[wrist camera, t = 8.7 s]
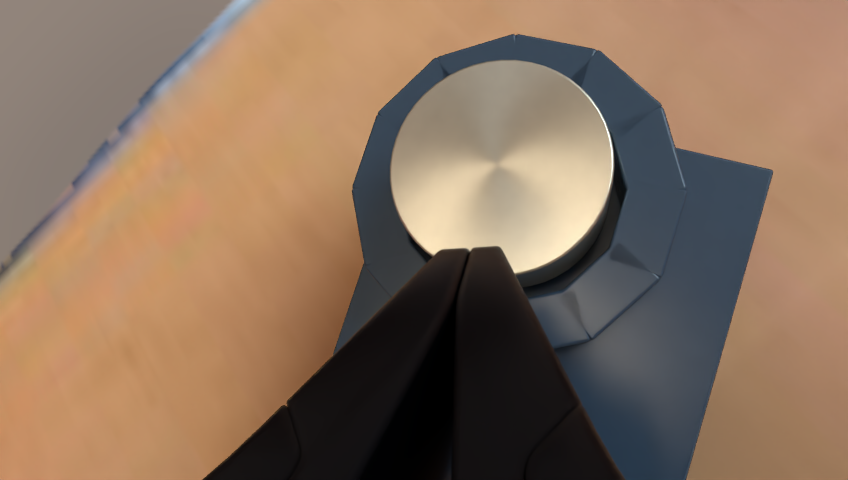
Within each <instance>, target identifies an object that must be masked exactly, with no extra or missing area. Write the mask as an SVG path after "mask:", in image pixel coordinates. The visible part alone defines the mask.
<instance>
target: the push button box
mask: <svg viewBox="0 0 848 480" xmlns="http://www.w3.org/2000/svg"><path fill="white" fill-rule="evenodd" d="M496 60H519V61H527V62H532V63H536V64H539V65H543V66H546V67H548V68H551V69H553V70H555V71H558V72H559V73H561V74H563V75H565V76H566V77H568V78H570V79H571V80H572V81H574V82H575V83H576V84H577V85H579V86H580V87H581V88H582V89H583V90H584V91H585V92H586V93H587V94H588V95H589V96H590V97H591V99H592V100H593V101H594V103H595V104H596V105H597V107H598V108H599V110H600V112H601V114H602V115H603V117H604V119H605V121H606V124H607V126H608V129H609V132H610V135H611V139H612V144H613V149H614V176H613V183H612V189H611V194H610V200H609V205H608V209H607V214H606V218H605V221H604V223H603V226H602V229H601V231H600V233H599V235H598V237H597V238H596V240H595V242H594V243H593V245H592V246H591V247H590V249H589V250H588V252H587V253H586V254H585V255H584V256H583V257H582V258H581V259H580V260H579V261H578V262H577V263H576V264H574V265H573V266H572V267H571V268H569V269H568V270H567V271H565V272H563V273H562V274H560V275H558V276H557V277H555V278H553V279H550V280H548V281H546V282H543V283H540V284H536V285H533V286H527V287H522V288H523V290H524V292H525V294H526V296H527V298H528V300H529V302H530V304H531V306H532V308H533V310H534V312H535V314H536V316H537V317H538V319H539V321H540V323H541V325H542V327H543V329H544V331H545V333H546V335H547V337H548V339H549V341H550V343H551V345H552V346H553V348H554V350H555V352H556V354H557V356H558V358H559V360H560V362H561V364H562V366H563V368H564V370H565V372H566V374H567V375H568V377H569V379H570V381H571V383H572V385H573V387H574V389H575V391H576V393H577V395H578V397H579V399H580V401H581V403H582V406H583V407H584V408H585V409H586V411H587V413H588V415H589V417H590V419H591V421H592V423H593V425H594V427H595V429H596V431H597V432H598V434H599V436H600V438H601V439H602V441H603V443H604V445H605V446H606V448H607V450H608V452H609V453H610V455H611V457H612V459H613V460H614V462H615V464H616V466H617V467H618V469H619V470H620V472H621V473H622V475H623V476H624V478H625V479H626V480H686V478H687V474H688V471H689V467H690V464H691V460H692V457H693V453H694V450H695V446H696V443H697V439H698V436H699V432H700V429H701V425H702V422H703V418H704V415H705V411H706V407H707V404H708V400H709V397H710V393H711V390H712V386H713V383H714V379H715V376H716V372H717V369H718V365H719V362H720V358H721V355H722V351H723V348H724V344H725V340H726V337H727V333H728V330H729V326H730V323H731V319H732V316H733V312H734V309H735V305H736V302H737V298H738V295H739V291H740V288H741V284H742V281H743V277H744V274H745V270H746V266H747V263H748V259H749V256H750V252H751V249H752V245H753V242H754V238H755V235H756V231H757V228H758V224H759V221H760V217H761V214H762V210H763V207H764V203H765V200H766V196H767V192H768V189H769V185H770V182H771V178H772V175H773V171H772V170H770V169H766V168H761V167H757V166H753V165H748V164H744V163H740V162H735V161H731V160H727V159H722V158H718V157H714V156H709V155H705V154H701V153H696V152H692V151H688V150H683V149H679V148H675V145H674V142H673V138H672V135H671V132H670V128H669V125H668V121H667V118H666V115H665V111H664V109H663V108H662V107H661V106H662V105H661V104H660V103H659V102H658V101H657V100H656V99H655V98H654V97H652V96H651V95H650V94H649V93H648V92H647V91H645V90H644V89H643V88H642V87H641V86H640V85H639V84H637V83H636V82H635V81H634V80H633V79H632V78H631V77H629V76H628V75H627V74H626V73H625V72H624V71H623V70H621V69H620V68H619V67H618V66H617V65H616V64H615V63H613V62H612V61H611V60H610V59H609V58H608V57H607V56H605V55H604V54H603V53H602V52H601V51H599V50H598V51H596V50H595V49H592V48H587V47H581V46H576V45H571V44H566V43H561V42H556V41H551V40H545V39H540V38H535V37H530V36H525V35H520V34H518V35H516V36H515V35H514V34H512V35H508V36H505V37H502V38H498V39H495V40H492V41H489V42H485V43H482V44H479V45H475V46H472V47H469V48H466V49H462V50H459V51H456V52H452V53H449V54H446V55H443V56H439V57H438V58H434V59H433V60H432V61H431V62H430V63H429V64H428V65H427V66H426V67H425V68H424V69H423V70H422V71H421V72H420V73H419V74H417V75H416V76H415V77H414V78H413V79H412V80H411V81H410V82H409V83H408V84H407V85H406V86H405V87H404V88H403V89H402V90H401V91H400V92H399V93H398V94H397V95H396V96H395V97H393V98H392V99H391V100H390V101H389V102H388V103H387V104H386V105H385V106H384V107H383V108H382V109H381V110H380V111H379V112H378V115H377V116H376V119H375V122H374V125H373V128H372V131H371V134H370V137H369V140H368V143H367V145H366V148H365V151H364V154H363V157H362V160H361V163H360V166H359V169H358V172H357V175H356V177H355V180H354V183H353V190H352V195H353V201H354V206H355V212H356V218H357V224H358V229H359V235H360V241H361V247H362V252H363V258H364V264H363V267H362V270H361V273H360V276H359V279H358V282H357V285H356V288H355V291H354V294H353V297H352V300H351V303H350V305H349V308H348V311H347V314H346V317H345V320H344V323H343V326H342V329H341V332H340V335H339V338H338V341H337V344H336V347H335V350H334V353H333V355H334V354H335V353H336V352H337V351H338V350H339V349H340V348H341V347H342V346H343V345H344V344H345V343H346V342H347V341H348V340H349V339H350V338H351V337H352V336H353V335H354V334H355V333H356V332H357V331H358V330H359V329H360V328H361V327H362V326H363V325H364V324H365V323H366V322H367V321H368V320H369V319H370V318H371V317H372V316H373V315H374V314H375V313H376V312H377V311H378V310H379V309H380V308H381V307H382V306H383V305H384V304H385V303H386V302H387V301H388V300H389V299H390V298H391V297H392V296H393V295H394V294H396V293H397V292H398V291H399V290H400V289H401V288H402V287H403V286H404V285H405V284H406V283H407V282H408V281H409V280H410V279H411V278H412V277H413V276H414V275H415V274H416V273H417V272H418V271H419V270H420V269H421V268H422V267H423V266H424V265H425V264H426V263H427V262H428V261H429V260H430V259H431V258H432V256H430V255H429V254H428V253H426V252H425V251H424V250H423V249H422V248H421V247H420V246H419V245H418V244H417V243H416V242H415V241H414V240H413V238H412V237H411V236H410V234H409V233H408V232H407V230H406V229H405V227H404V225H403V223H402V222H401V220H400V218H399V215H398V213H397V210H396V208H395V205H394V201H393V197H392V193H391V185H390V163H391V156H392V151H393V147H394V143H395V140H396V137H397V135H398V132H399V130H400V127H401V125H402V124H403V122H404V120H405V118H406V116H407V115H408V113H409V112H410V110H411V109H412V108H413V106H414V105H415V104H416V102H417V101H418V100H419V99H420V98H421V97H422V96H423V95H424V94H425V93H426V92H427V91H428V90H429V89H431V88H432V87H433V86H434V85H435V84H436V83H438V82H440V81H441V80H443V79H444V78H446V77H447V76H449V75H451V74H453V73H455V72H457V71H459V70H461V69H463V68H466V67H469V66H472V65H475V64H479V63H483V62H487V61H496Z"/></svg>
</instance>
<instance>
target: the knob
mask: <svg viewBox="0 0 848 480" xmlns="http://www.w3.org/2000/svg"><path fill="white" fill-rule="evenodd" d="M613 176H614V149H613V144H612V139H611V135H610V132H609V129H608V126H607V124H606V121H605V119H604V117H603V115H602V114H601V112H600V110H599V108H598V107H597V105H596V104H595V103H594V101H593V100H592V99H591V97H590V96H589V95H588V94H587V93H586V92H585V91H584V90H583V89H582V88H581V87H580V86H579V85H577V84H576V83H575V82H574V81H572V80H571V79H570V78H568V77H566V76H565V75H563V74H561V73H559V72H558V71H555V70H553V69H551V68H548V67H546V66H543V65H539V64H536V63H532V62H527V61H519V60H496V61H487V62H483V63H479V64H475V65H472V66H469V67H466V68H463V69H461V70H459V71H457V72H455V73H453V74H451V75H449V76H447V77H446V78H444V79H443V80H441V81H440V82H438V83H436V84H435V85H434V86H433V87H432V88H431V89H429V90H428V91H427V92H426V93H425V94H424V95H423V96H422V97H421V98H420V99H419V100H418V101H417V102H416V104H415V105H414V106H413V108H412V109H411V110H410V112H409V113H408V115H407V116H406V118H405V120H404V122H403V124H402V125H401V127H400V130H399V132H398V135H397V137H396V140H395V143H394V147H393V151H392V156H391V163H390V185H391V193H392V197H393V201H394V205H395V208H396V210H397V213H398V215H399V218H400V220H401V222H402V223H403V225H404V227H405V229H406V230H407V232H408V233H409V234H410V236H411V237H412V238H413V240H414V241H415V242H416V243H417V244H418V245H419V246H420V247H421V248H422V249H423V250H424V251H425V252H426V253H428V254H429V255H430V256H432V257H433V256H434V255H435V254H436V253H437V252H438V251H440V250H442V249H454V248H467V249H469V251H471V249H472V248H475V247H487V246H499V247H501V249H502V250H503V252H504V254H505V256H506V258H507V259H508V261H509V263H510V265H511V267H512V269H513V271H514V273H515V275H516V277H517V279H518V281H519V283H520V285H521V287H527V286H533V285H536V284H540V283H543V282H546V281H548V280H550V279H553V278H555V277H557V276H558V275H560V274H562V273H563V272H565V271H567V270H568V269H569V268H571V267H572V266H573V265H574V264H576V263H577V262H578V261H579V260H580V259H581V258H582V257H583V256H584V255H585V254H586V253H587V252H588V250H589V249H590V247H591V246H592V245H593V243H594V242H595V240H596V238H597V237H598V235H599V233H600V231H601V229H602V226H603V223H604V221H605V218H606V214H607V209H608V205H609V200H610V194H611V189H612V183H613Z"/></svg>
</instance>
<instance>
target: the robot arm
mask: <svg viewBox="0 0 848 480" xmlns="http://www.w3.org/2000/svg"><path fill="white" fill-rule="evenodd" d="M203 480H626V479H625V478H624V476H623V475H622V473H621V472H620V470H619V469H618V467H617V466H616V464H615V462H614V460H613V459H612V457H611V455H610V453H609V452H608V450H607V448H606V446H605V445H604V443H603V441H602V439H601V438H600V436H599V434H598V432H597V431H596V429H595V427H594V425H593V423H592V421H591V419H590V417H589V415H588V413H587V411H586V409H585V408H584V407H583V406H582V403H581V401H580V399H579V397H578V395H577V393H576V391H575V389H574V387H573V385H572V383H571V381H570V379H569V377H568V375H567V374H566V372H565V370H564V368H563V366H562V364H561V362H560V360H559V358H558V356H557V354H556V352H555V350H554V348H553V346H552V345H551V343H550V341H549V339H548V337H547V335H546V333H545V331H544V329H543V327H542V325H541V323H540V321H539V319H538V317H537V316H536V314H535V312H534V310H533V308H532V306H531V304H530V302H529V300H528V298H527V296H526V294H525V292H524V290H523V288H522V287H521V285H520V283H519V281H518V279H517V277H516V275H515V273H514V271H513V269H512V267H511V265H510V263H509V261H508V259H507V258H506V256H505V254H504V252H503V250H502V249H501V247H499V246H487V247H475V248H472V249H471V251H469V249H467V248H454V249H442V250H440V251H438V252H437V253H436V254H435V255H434V256H433V257H432V258H431V259H430V260H429V261H428V262H427V263H426V264H425V265H424V266H423V267H422V268H421V269H420V270H419V271H418V272H417V273H416V274H415V275H414V276H413V277H412V278H411V279H410V280H409V281H408V282H407V283H406V284H405V285H404V286H403V287H402V288H401V289H400V290H399V291H398V292H397V293H396V294H394V295H393V296H392V297H391V298H390V299H389V300H388V301H387V302H386V303H385V304H384V305H383V306H382V307H381V308H380V309H379V310H378V311H377V312H376V313H375V314H374V315H373V316H372V317H371V318H370V319H369V320H368V321H367V322H366V323H365V324H364V325H363V326H362V327H361V328H360V329H359V330H358V331H357V332H356V333H355V334H354V335H353V336H352V337H351V338H350V339H349V340H348V341H347V342H346V343H345V344H344V345H343V346H342V347H341V348H340V349H339V350H338V351H337V352H336V353H335V354H334V355H333V356H332V357H331V358H330V359H329V360H328V361H327V362H326V363H325V364H324V365H323V366H322V367H321V368H320V369H319V370H318V371H317V372H316V373H315V374H314V375H313V376H312V377H311V378H310V379H309V380H308V381H307V382H306V383H305V384H304V385H303V386H302V387H301V388H300V389H299V390H298V391H297V392H296V393H295V394H294V395H293V396H292V397H290V398H289V399H288V401H287V406H285V405H283V406H281V407H280V408H279V409H278V410H277V411H276V412H275V413H274V414H273V415H272V416H271V417H270V418H269V419H268V420H267V421H266V422H265V423H264V424H263V425H262V426H261V427H260V428H259V429H258V430H257V431H256V432H255V433H253V434H252V435H251V436H250V437H249V438H248V439H247V440H246V441H245V442H244V443H243V444H242V445H241V446H240V447H239V448H238V449H237V450H235V451H234V452H233V453H232V454H231V455H230V456H229V457H228V458H227V459H226V460H224V461H223V462H222V463H221V464H220V465H219V466H218V467H216V468H215V469H214V470H213V471H212V472H211V473H210V474H208V475H207V476H206V477H205V478H204V479H203Z"/></svg>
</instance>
